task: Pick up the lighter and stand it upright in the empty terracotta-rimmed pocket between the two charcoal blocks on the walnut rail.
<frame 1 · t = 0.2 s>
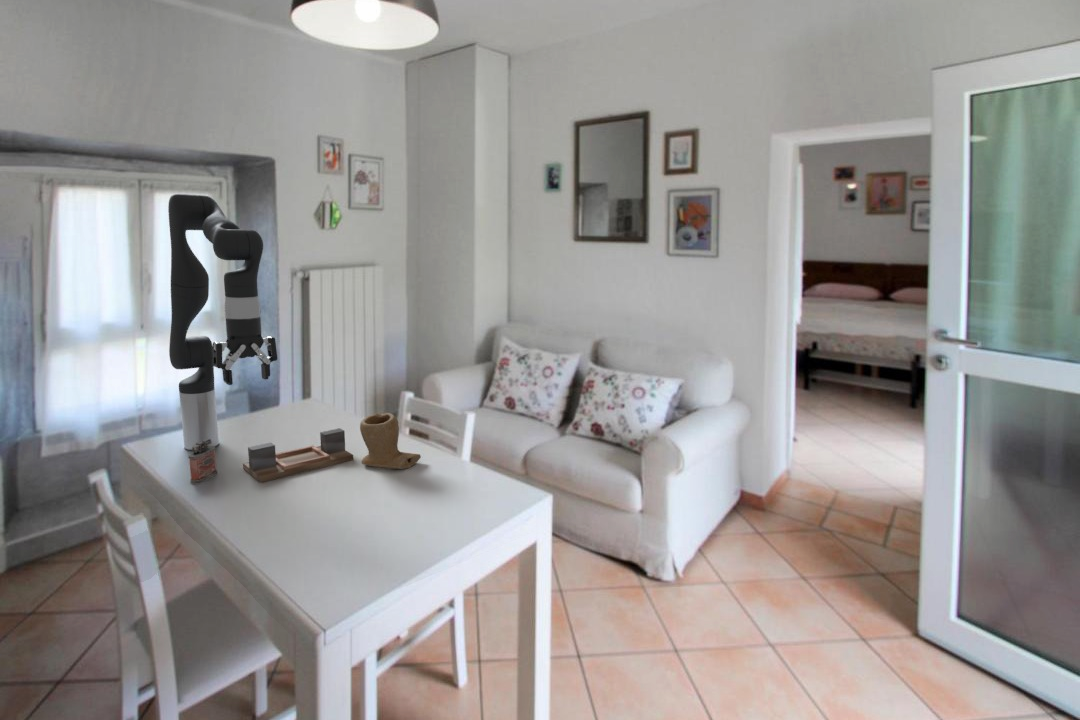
hand: (247, 381, 150), 28 cm above the table, fingers open, 8 cm apart
lighter: (204, 478, 163), on the table
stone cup: (387, 466, 175), on the table
rail: (299, 463, 175), on the table
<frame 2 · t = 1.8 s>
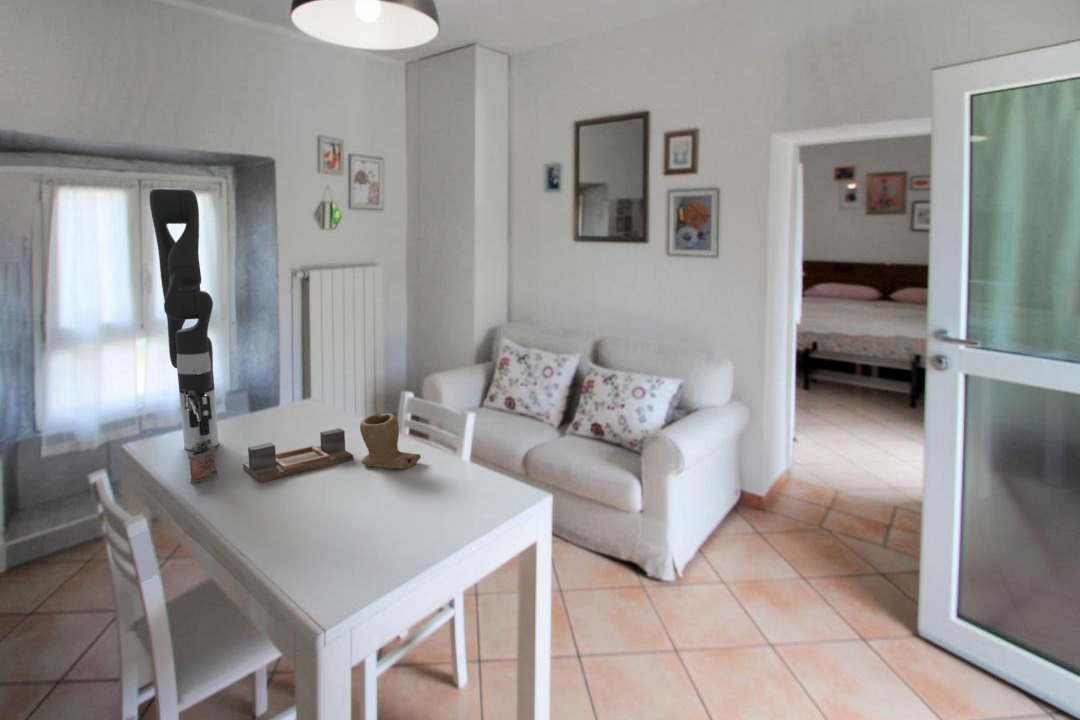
hand: (199, 431, 160), 13 cm above the table, fingers open, 8 cm apart
nothing on the table moved.
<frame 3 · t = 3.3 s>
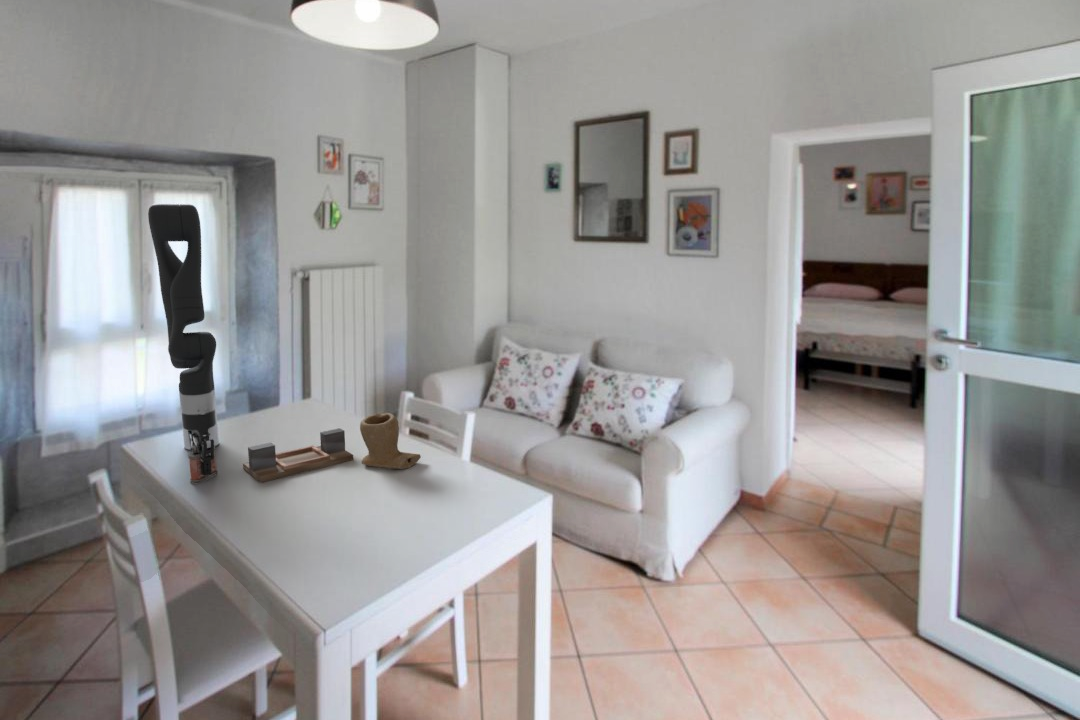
hand: (203, 471, 163), 2 cm above the table, fingers closed on lighter, 4 cm apart
lighter: (204, 478, 163), on the table, touching gripper
everything else where it was.
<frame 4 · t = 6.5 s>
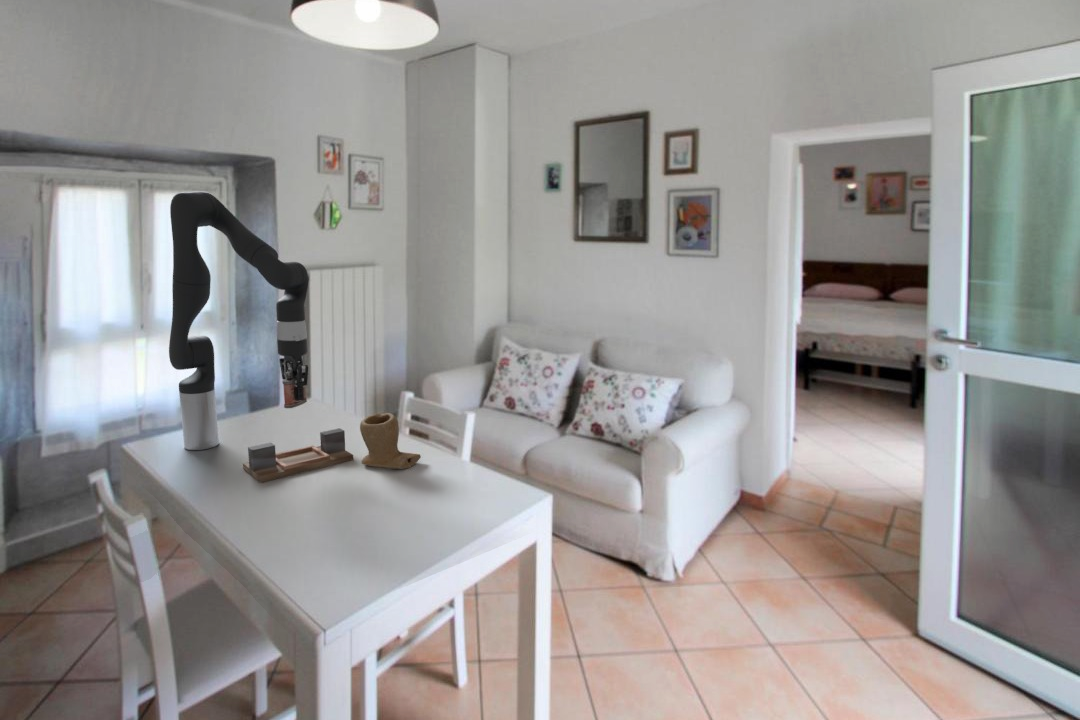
hand: (295, 397, 171), 19 cm above the table, fingers closed on lighter, 4 cm apart
lighter: (295, 405, 171), point 17 cm above the table, touching gripper
everything else where it was.
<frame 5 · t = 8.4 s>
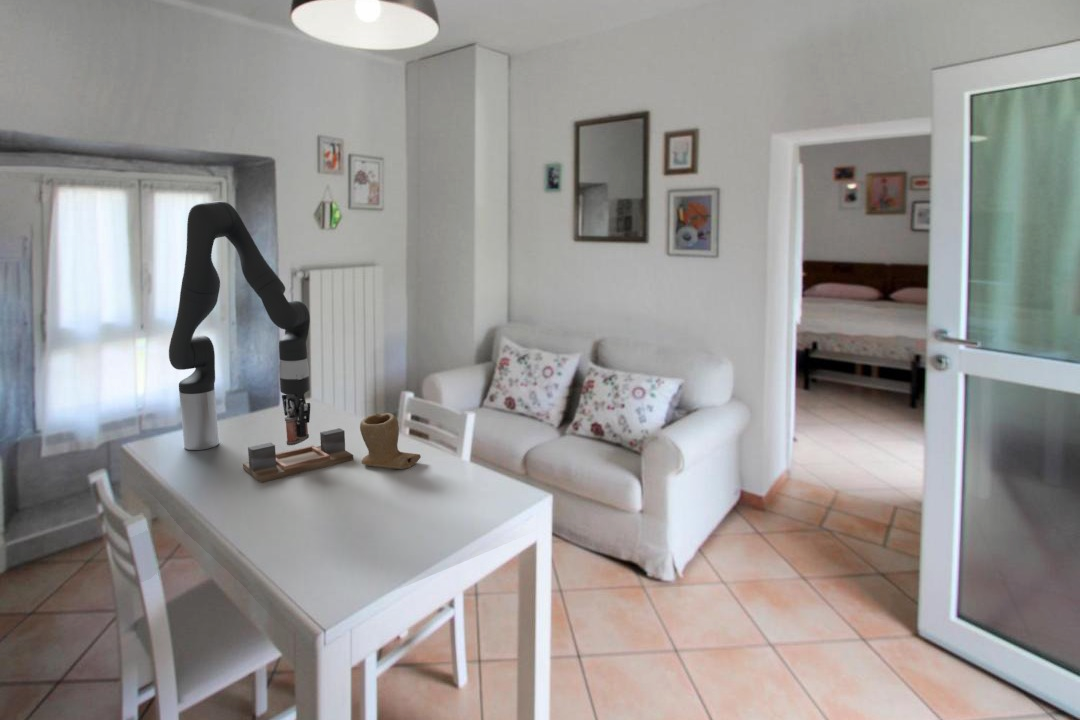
hand: (297, 434, 173), 9 cm above the table, fingers closed on lighter, 4 cm apart
lighter: (298, 441, 173), point 7 cm above the table, touching gripper
everything else where it was.
when the fingers open (5 cm above the table, at t = 9.7 s): lighter drops 1 cm, resting on rail.
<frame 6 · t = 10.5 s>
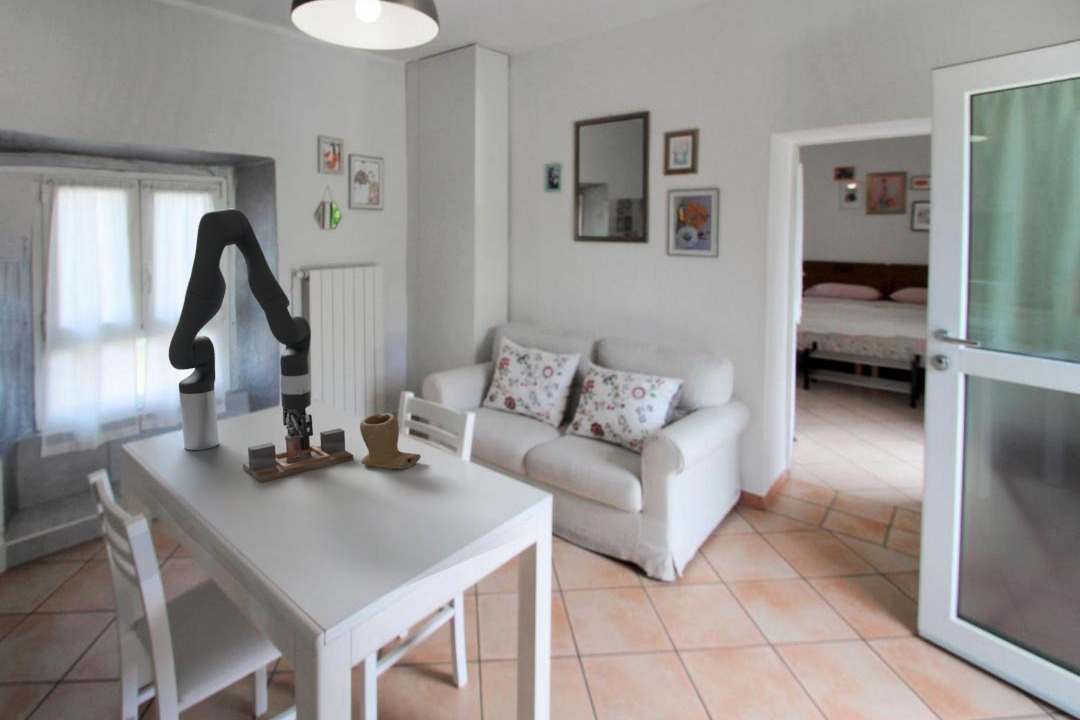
hand: (298, 445, 174), 5 cm above the table, fingers open, 8 cm apart
lighter: (299, 459, 174), point 1 cm above the table, touching rail
everything else where it was.
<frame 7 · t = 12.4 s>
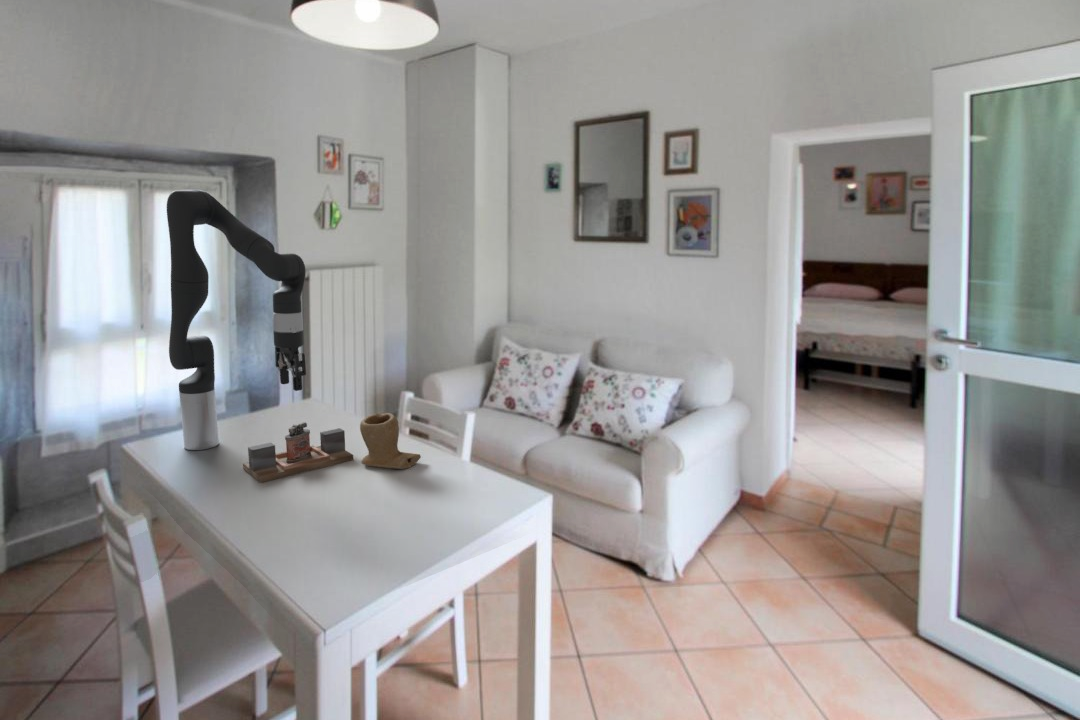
hand: (291, 386, 170), 22 cm above the table, fingers open, 8 cm apart
nothing on the table moved.
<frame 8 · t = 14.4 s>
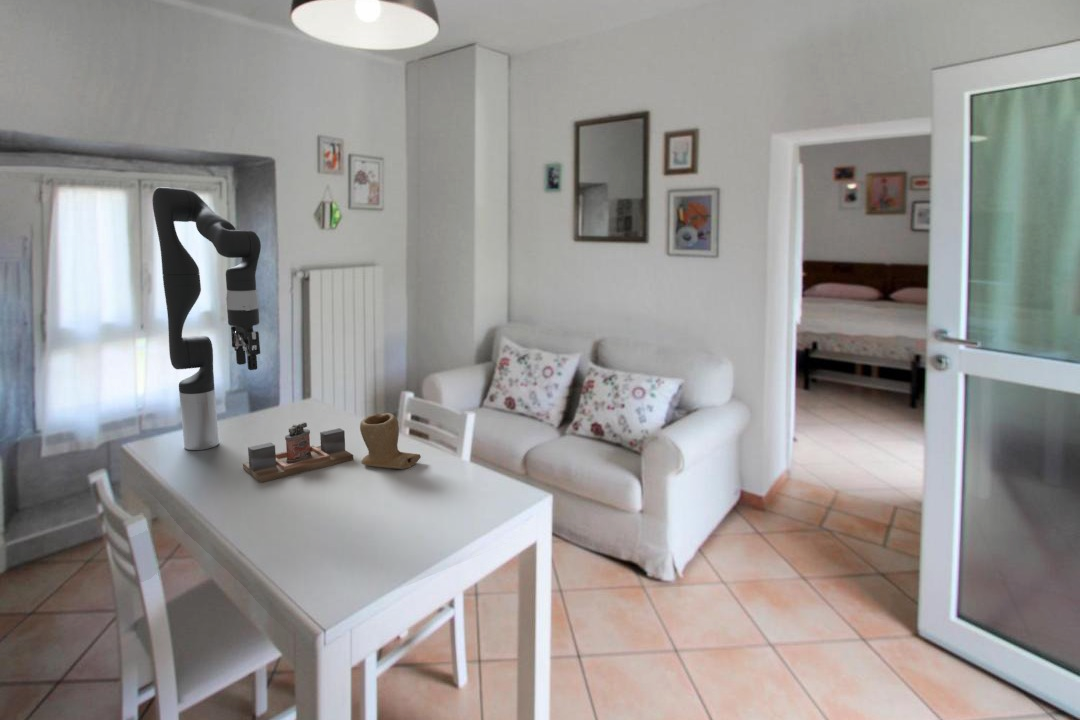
hand: (247, 366, 167), 28 cm above the table, fingers open, 8 cm apart
nothing on the table moved.
at the end: lighter 0.2 cm off-centre on the rail, point 1.3 cm above the rail's base; lighter tilted 0°; the gripper is holding nothing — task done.
